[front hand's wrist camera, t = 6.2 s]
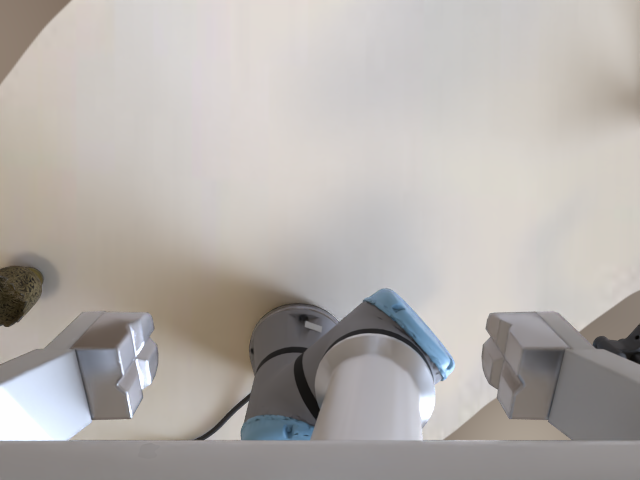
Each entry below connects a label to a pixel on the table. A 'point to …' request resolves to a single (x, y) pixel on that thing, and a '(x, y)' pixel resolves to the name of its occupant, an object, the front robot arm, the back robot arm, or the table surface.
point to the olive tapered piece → (18, 292)
